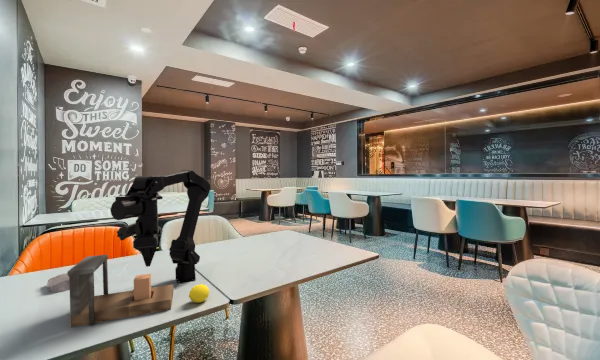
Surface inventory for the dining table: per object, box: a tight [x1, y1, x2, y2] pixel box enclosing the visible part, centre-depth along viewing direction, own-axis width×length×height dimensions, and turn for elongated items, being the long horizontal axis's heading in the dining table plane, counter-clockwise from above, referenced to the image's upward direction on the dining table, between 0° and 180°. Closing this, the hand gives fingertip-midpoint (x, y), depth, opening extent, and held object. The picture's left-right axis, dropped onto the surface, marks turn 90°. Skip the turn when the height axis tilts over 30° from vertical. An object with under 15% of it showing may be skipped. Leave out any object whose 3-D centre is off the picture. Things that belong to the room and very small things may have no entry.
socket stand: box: [66, 254, 174, 328], centre depth 82 cm, size 24×14×15 cm, turn 112°
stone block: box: [46, 272, 70, 294], centre depth 100 cm, size 12×5×10 cm
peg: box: [133, 273, 152, 301], centre depth 84 cm, size 4×4×9 cm
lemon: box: [188, 283, 210, 304], centre depth 86 cm, size 7×5×5 cm
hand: (149, 261), depth 89 cm, fingers open, 9 cm apart
